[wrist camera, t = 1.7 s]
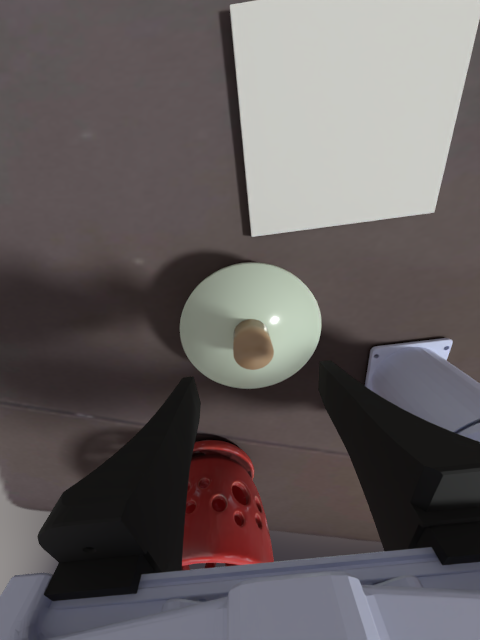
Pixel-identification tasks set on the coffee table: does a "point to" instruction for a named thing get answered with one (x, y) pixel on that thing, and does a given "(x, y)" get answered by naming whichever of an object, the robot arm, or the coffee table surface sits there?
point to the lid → (250, 325)
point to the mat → (347, 106)
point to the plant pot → (223, 509)
